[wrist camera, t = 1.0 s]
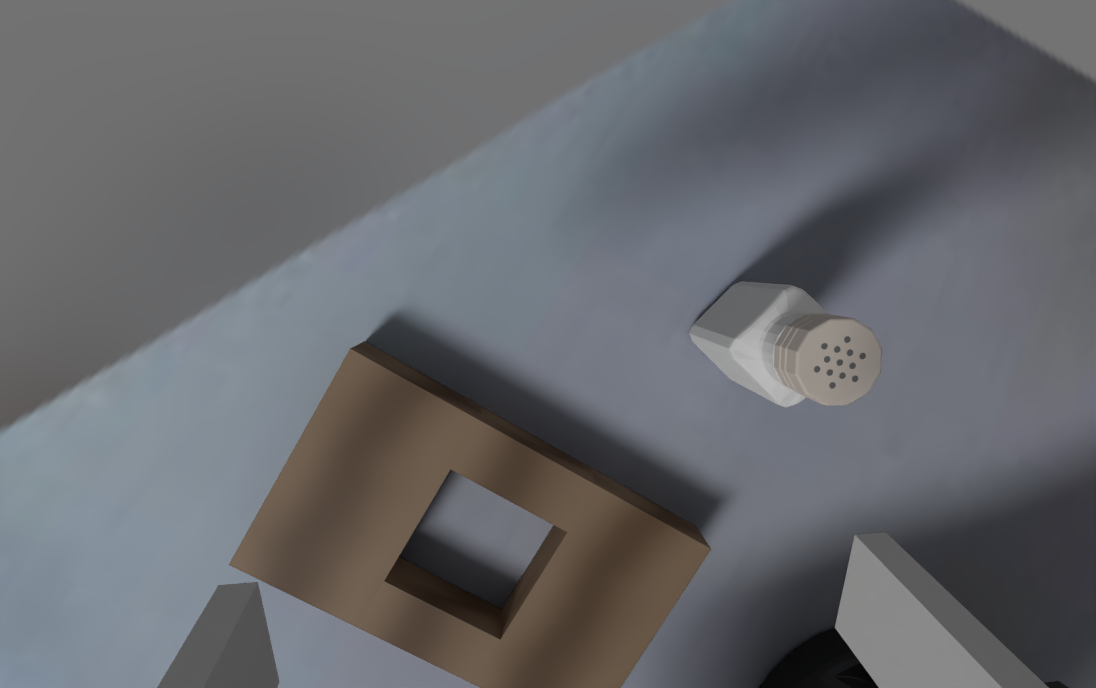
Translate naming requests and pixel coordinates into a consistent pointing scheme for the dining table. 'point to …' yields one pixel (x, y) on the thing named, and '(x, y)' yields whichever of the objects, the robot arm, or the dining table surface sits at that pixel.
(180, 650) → the robot arm
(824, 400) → the pepper shaker
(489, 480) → the spice block
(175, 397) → the dining table surface
